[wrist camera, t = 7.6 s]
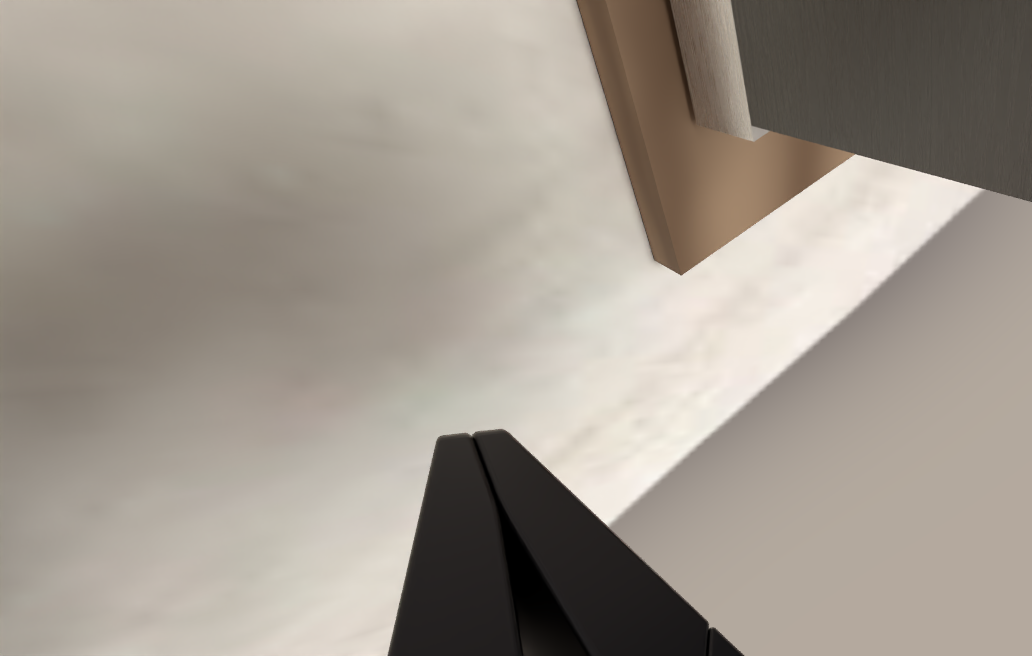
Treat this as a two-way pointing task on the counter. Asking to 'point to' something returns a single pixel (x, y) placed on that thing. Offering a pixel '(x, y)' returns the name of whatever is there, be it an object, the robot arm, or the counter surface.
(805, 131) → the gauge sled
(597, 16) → the base
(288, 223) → the counter surface
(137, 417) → the counter surface
